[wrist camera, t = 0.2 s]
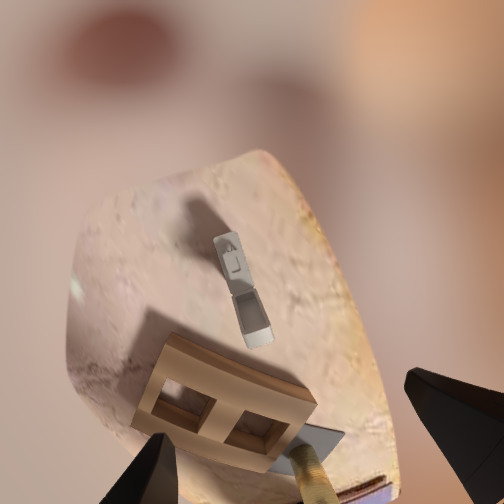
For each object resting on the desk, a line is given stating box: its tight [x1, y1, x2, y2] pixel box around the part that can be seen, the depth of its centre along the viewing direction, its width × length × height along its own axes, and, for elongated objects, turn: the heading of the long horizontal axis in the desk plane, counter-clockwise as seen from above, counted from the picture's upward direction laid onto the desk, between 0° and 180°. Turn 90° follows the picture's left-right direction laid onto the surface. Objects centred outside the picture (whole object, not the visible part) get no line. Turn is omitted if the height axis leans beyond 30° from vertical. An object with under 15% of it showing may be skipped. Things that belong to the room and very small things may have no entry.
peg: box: [288, 445, 340, 504], centre depth 18 cm, size 3×3×10 cm
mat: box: [267, 424, 345, 476], centre depth 23 cm, size 8×7×1 cm
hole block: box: [130, 332, 318, 474], centre depth 21 cm, size 10×14×3 cm
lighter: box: [213, 231, 275, 349], centre depth 19 cm, size 7×2×8 cm, turn 18°
